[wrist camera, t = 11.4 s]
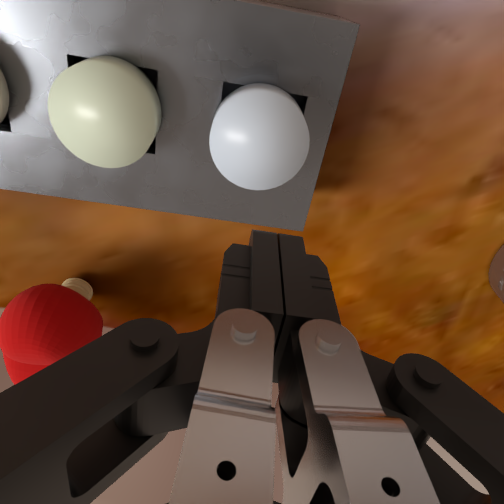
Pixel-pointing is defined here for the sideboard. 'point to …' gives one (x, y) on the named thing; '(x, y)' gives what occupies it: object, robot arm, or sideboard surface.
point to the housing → (170, 97)
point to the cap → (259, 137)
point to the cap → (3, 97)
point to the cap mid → (105, 111)
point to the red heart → (47, 326)
